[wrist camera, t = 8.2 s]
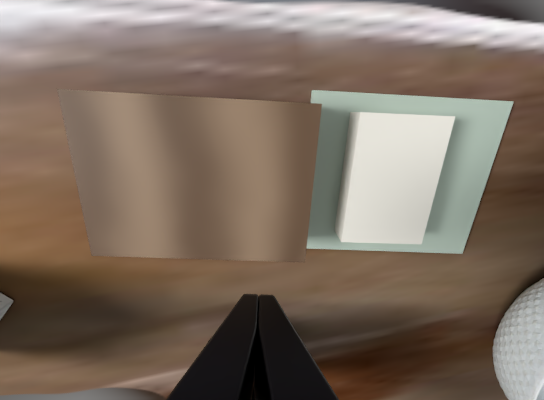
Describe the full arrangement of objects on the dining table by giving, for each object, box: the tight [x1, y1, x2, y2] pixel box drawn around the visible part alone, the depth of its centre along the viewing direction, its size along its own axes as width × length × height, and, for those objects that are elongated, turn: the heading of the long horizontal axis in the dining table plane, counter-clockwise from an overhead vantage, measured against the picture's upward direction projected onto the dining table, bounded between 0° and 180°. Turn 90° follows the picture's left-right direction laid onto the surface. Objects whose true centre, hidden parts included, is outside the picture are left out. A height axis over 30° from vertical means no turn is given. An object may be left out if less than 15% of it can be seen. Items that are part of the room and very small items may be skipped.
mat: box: [307, 90, 513, 254], centre depth 19 cm, size 14×12×1 cm
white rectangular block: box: [334, 112, 455, 244], centre depth 18 cm, size 6×9×2 cm, turn 178°
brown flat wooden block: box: [57, 89, 322, 262], centre depth 17 cm, size 14×10×4 cm
